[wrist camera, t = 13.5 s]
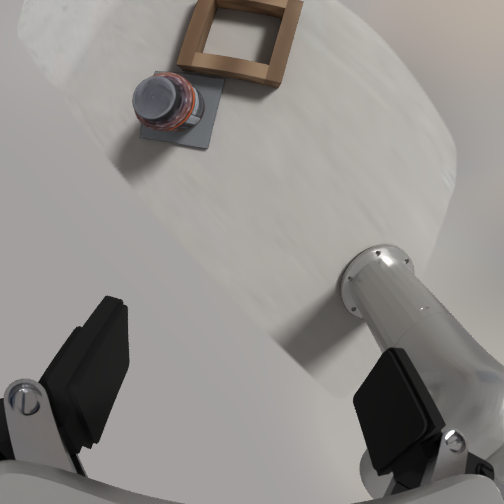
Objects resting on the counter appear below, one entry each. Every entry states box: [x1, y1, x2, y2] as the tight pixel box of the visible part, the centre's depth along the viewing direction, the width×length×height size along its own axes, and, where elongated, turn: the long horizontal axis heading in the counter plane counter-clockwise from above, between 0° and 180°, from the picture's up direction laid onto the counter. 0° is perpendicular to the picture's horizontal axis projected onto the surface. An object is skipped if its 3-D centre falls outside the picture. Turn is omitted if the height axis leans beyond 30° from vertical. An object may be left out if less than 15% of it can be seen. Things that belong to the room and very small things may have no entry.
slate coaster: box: [140, 71, 225, 149], centre depth 30 cm, size 9×9×1 cm
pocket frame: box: [177, 0, 303, 88], centre depth 25 cm, size 12×12×4 cm
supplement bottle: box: [132, 72, 205, 132], centre depth 25 cm, size 6×6×11 cm
